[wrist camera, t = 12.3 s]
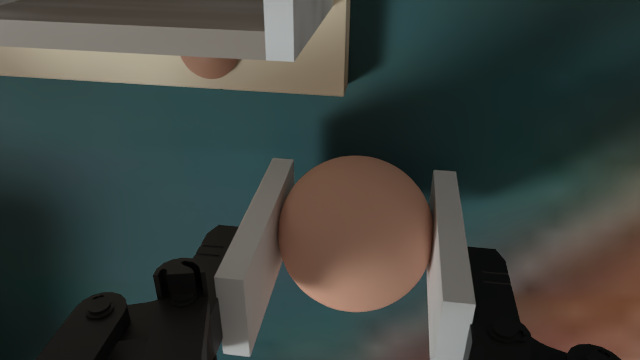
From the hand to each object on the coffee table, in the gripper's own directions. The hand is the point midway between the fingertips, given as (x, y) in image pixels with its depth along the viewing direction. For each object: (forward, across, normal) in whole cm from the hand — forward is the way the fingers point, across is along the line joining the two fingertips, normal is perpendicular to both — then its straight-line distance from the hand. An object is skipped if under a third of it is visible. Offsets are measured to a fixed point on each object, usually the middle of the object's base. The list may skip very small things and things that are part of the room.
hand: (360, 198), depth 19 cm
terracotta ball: (0, 0, 0) cm, 0 cm away
